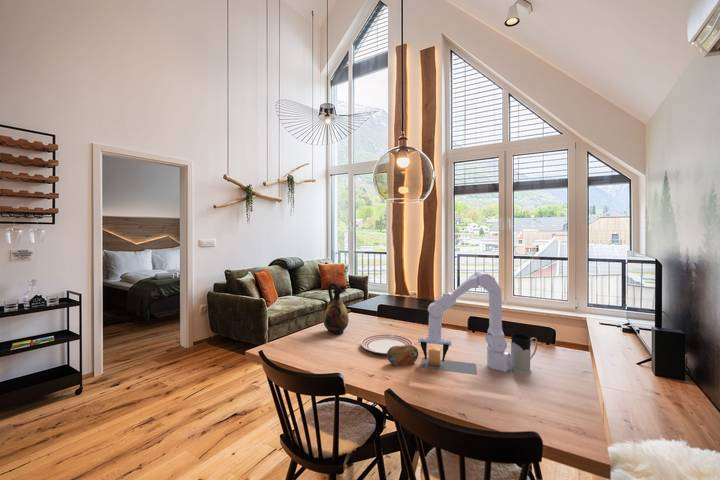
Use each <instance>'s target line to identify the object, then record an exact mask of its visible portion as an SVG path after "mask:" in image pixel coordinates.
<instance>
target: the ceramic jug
mask: <svg viewBox="0 0 720 480" xmlns="http://www.w3.org/2000/svg"><path fill="white" fill-rule="evenodd" d="M332 287H334V289H333V290H332ZM327 289H328V290H327V292H328V297H329V303H328V306H327V307H326V309H325V311H324V315H323V318H322V319H323V321H322V322H323V325H324V327H325V328H326V330H327V333H328V334H329V335H332V336H339V335H342V334H344V331H345V330H346V328H347V327H348V325H349V322H350V318H349V312H348V309H347V308H346V306H345V304H344V302H343V301H342V299H341V296H340V295H341V294H344V293H346V292H347V290H346V288H345V287H344V286H343V285H342V286H339V284H338V283H336V282H331V283H329V285H328V287H327Z"/></svg>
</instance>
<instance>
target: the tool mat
mask: <svg viewBox="0 0 720 480" xmlns="http://www.w3.org/2000/svg"><path fill="white" fill-rule="evenodd" d="M419 368H420V369H427V370H436V371H442V372H452V373H461V374H467V375H469V374H470V375H474V376H477V375H478V369H477V364H476V363H473V362H465V361H457V360H456V361H455V360H450V359H448V360H447V359H444V362H443V361H442V359H440V366H435V365H428V357H427V359H425V357H421V360H420V365H419Z"/></svg>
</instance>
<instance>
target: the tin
mask: <svg viewBox="0 0 720 480" xmlns="http://www.w3.org/2000/svg"><path fill="white" fill-rule="evenodd" d="M386 358H387V361H388V362H389V363H390V364H391V365H392V366H402V365H410V364H413V363H415V362H416V361H417V360H418V358H419V350H418V349H417V347H416V346H414V345H413V346H412V345H400V346H393V347H391V348H390V349H389V350H388V352H387V354H386Z"/></svg>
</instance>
